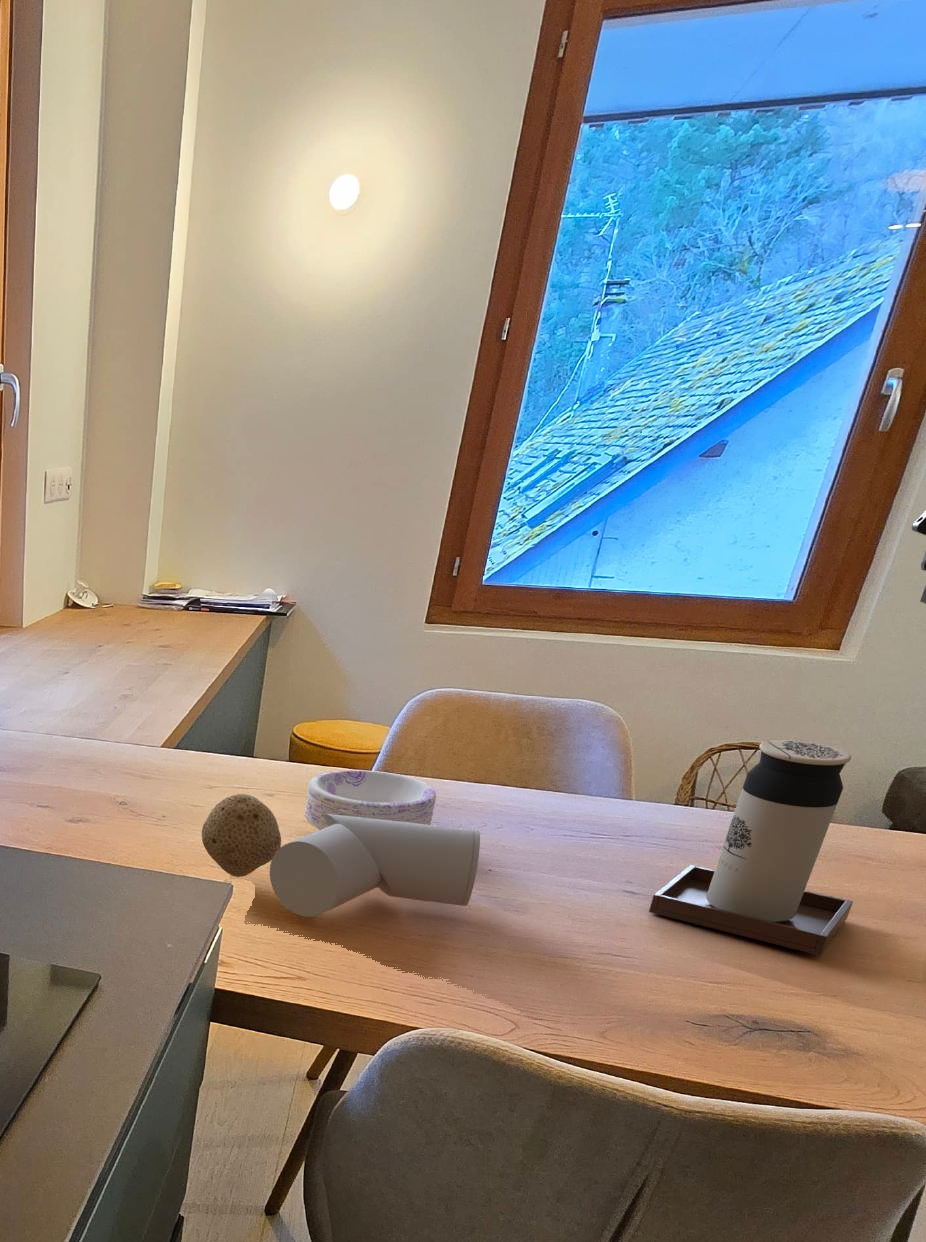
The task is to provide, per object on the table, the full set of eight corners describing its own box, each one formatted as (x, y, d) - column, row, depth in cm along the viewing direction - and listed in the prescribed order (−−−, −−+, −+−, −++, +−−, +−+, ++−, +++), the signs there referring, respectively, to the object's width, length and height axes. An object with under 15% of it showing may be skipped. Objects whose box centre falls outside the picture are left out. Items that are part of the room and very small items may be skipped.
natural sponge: (180, 868, 126) (187, 791, 122) (234, 853, 131) (242, 777, 126) (234, 895, 119) (244, 813, 115) (289, 878, 123) (300, 799, 119)
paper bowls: (337, 814, 145) (346, 759, 142) (446, 843, 135) (458, 784, 131) (278, 843, 136) (286, 785, 132) (390, 876, 126) (401, 814, 122)
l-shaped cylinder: (350, 841, 129) (250, 885, 117) (381, 766, 122) (279, 804, 111) (482, 916, 118) (386, 972, 107) (523, 838, 112) (426, 888, 101)
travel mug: (782, 899, 116) (840, 742, 108) (804, 929, 109) (867, 764, 101) (698, 889, 118) (748, 735, 111) (714, 917, 112) (769, 756, 104)
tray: (846, 918, 113) (853, 901, 113) (820, 955, 104) (827, 936, 104) (685, 881, 124) (690, 864, 123) (648, 912, 115) (653, 894, 114)
